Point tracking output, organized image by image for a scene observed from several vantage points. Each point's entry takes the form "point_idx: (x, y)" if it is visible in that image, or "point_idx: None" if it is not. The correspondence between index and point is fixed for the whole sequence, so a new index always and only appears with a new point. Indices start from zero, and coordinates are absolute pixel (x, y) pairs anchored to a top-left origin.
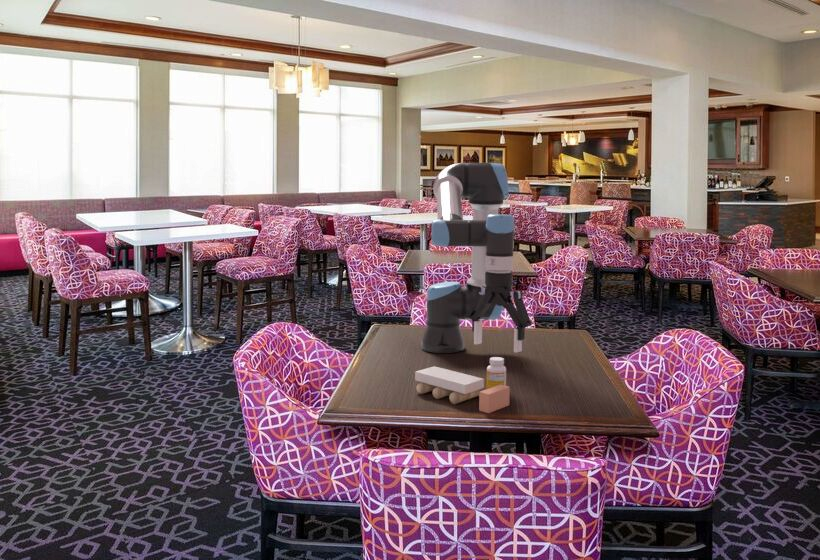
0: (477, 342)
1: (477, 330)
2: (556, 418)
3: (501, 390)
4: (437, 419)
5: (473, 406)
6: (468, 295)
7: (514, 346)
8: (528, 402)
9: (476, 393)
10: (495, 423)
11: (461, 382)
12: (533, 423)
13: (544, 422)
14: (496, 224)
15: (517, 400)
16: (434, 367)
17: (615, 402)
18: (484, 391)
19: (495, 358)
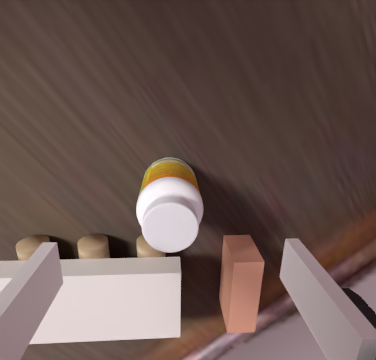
0: (58, 279)
1: (26, 335)
2: (368, 232)
3: (259, 290)
4: None
5: (194, 288)
6: None
7: (293, 296)
8: (275, 189)
9: (165, 256)
10: (281, 322)
11: (159, 330)
12: (338, 281)
13: (354, 264)
14: None
15: (246, 194)
16: None
17: None
18: (235, 325)
19: (163, 229)
